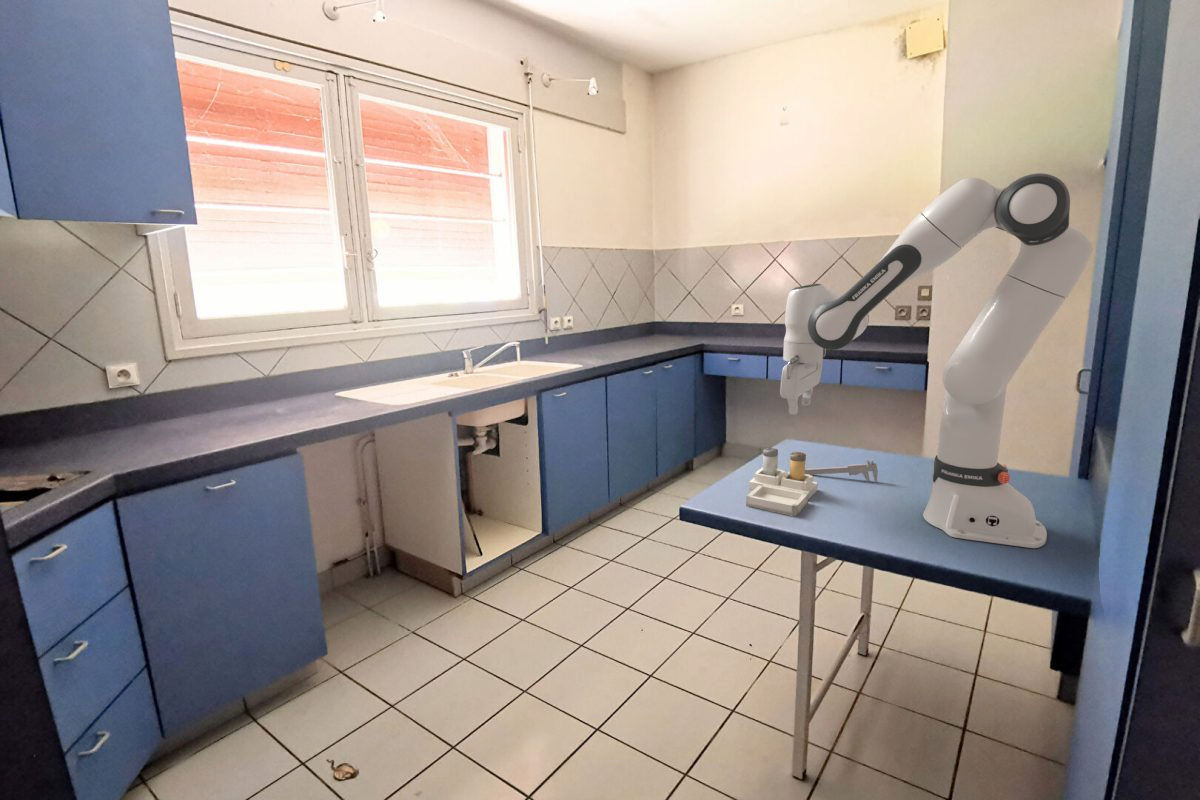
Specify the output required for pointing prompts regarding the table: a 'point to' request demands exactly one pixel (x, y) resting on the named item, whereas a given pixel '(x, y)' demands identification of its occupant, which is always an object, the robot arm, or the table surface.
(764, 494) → the parts tray
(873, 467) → the caliper
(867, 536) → the table surface
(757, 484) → the block
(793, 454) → the fuse
